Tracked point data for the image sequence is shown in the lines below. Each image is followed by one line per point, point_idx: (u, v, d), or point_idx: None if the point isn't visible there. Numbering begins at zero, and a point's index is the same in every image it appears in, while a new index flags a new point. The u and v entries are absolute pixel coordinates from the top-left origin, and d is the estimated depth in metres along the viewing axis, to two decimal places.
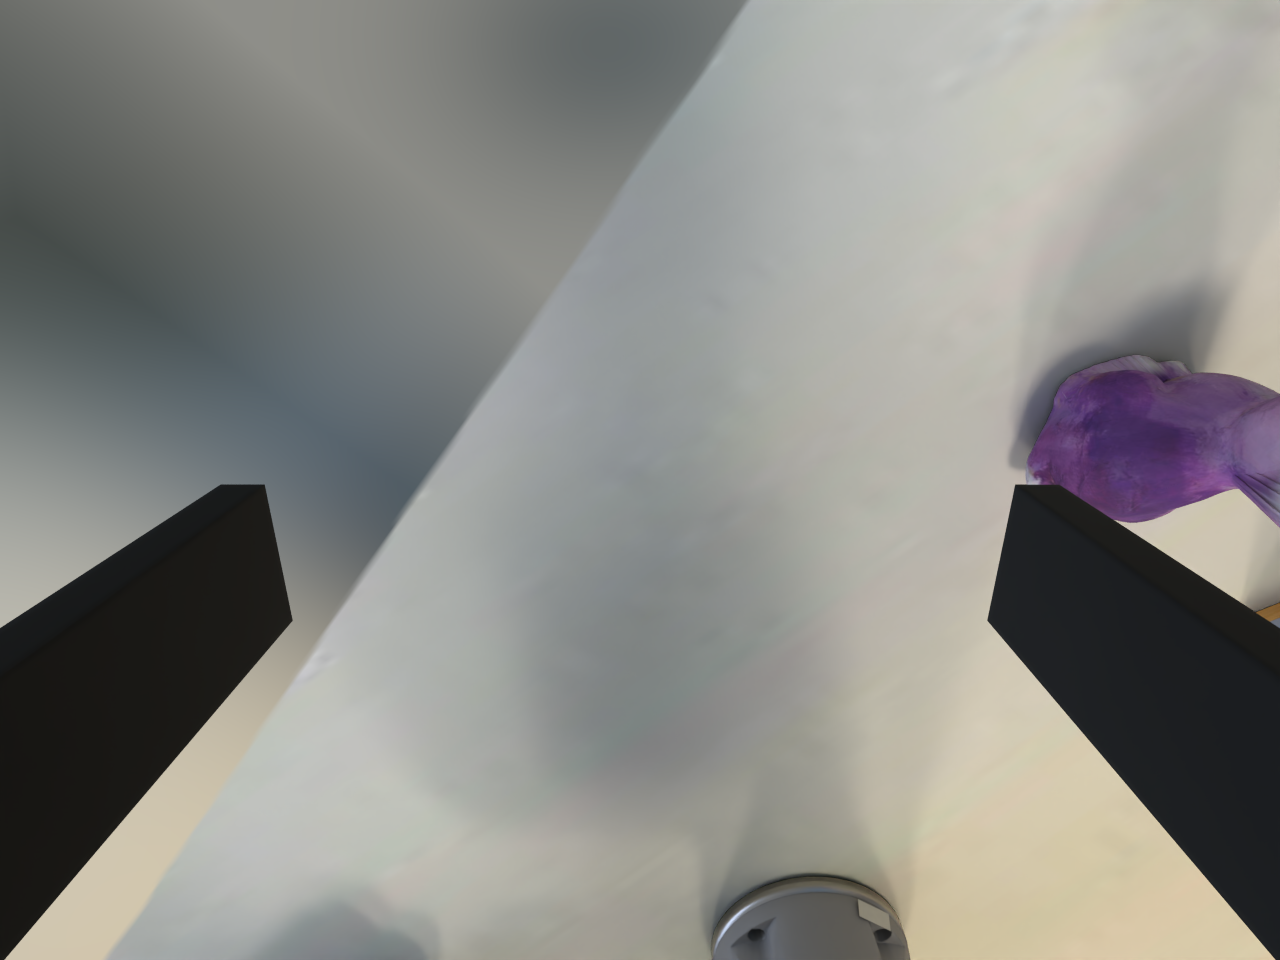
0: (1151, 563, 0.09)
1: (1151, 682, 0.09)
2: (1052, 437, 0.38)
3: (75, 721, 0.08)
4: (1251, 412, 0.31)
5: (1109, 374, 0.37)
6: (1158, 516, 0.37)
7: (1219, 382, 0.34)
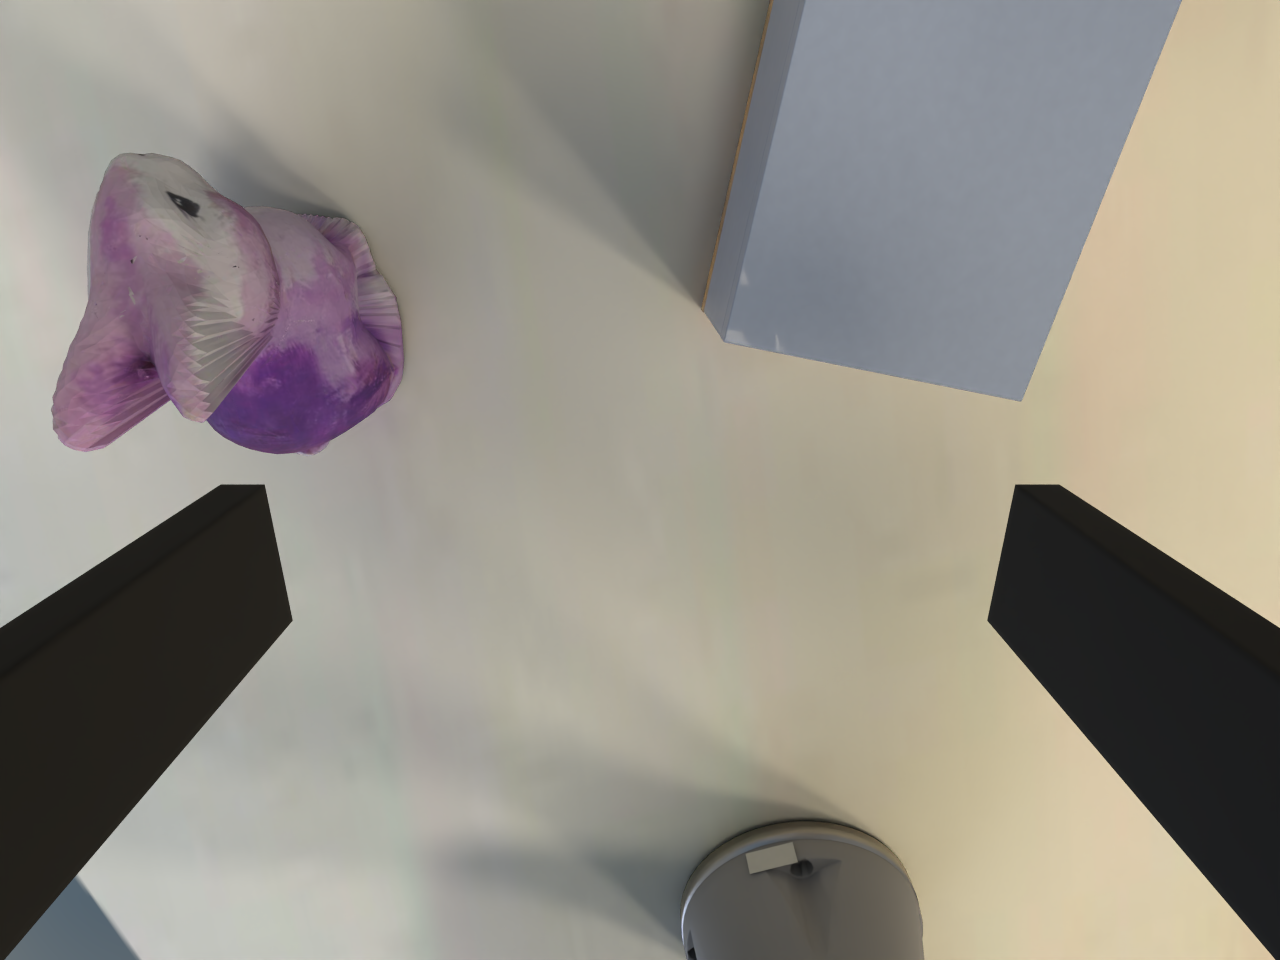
0: (1151, 563, 0.09)
1: (1150, 681, 0.09)
2: None
3: (75, 721, 0.08)
4: None
5: None
6: (346, 395, 0.28)
7: None
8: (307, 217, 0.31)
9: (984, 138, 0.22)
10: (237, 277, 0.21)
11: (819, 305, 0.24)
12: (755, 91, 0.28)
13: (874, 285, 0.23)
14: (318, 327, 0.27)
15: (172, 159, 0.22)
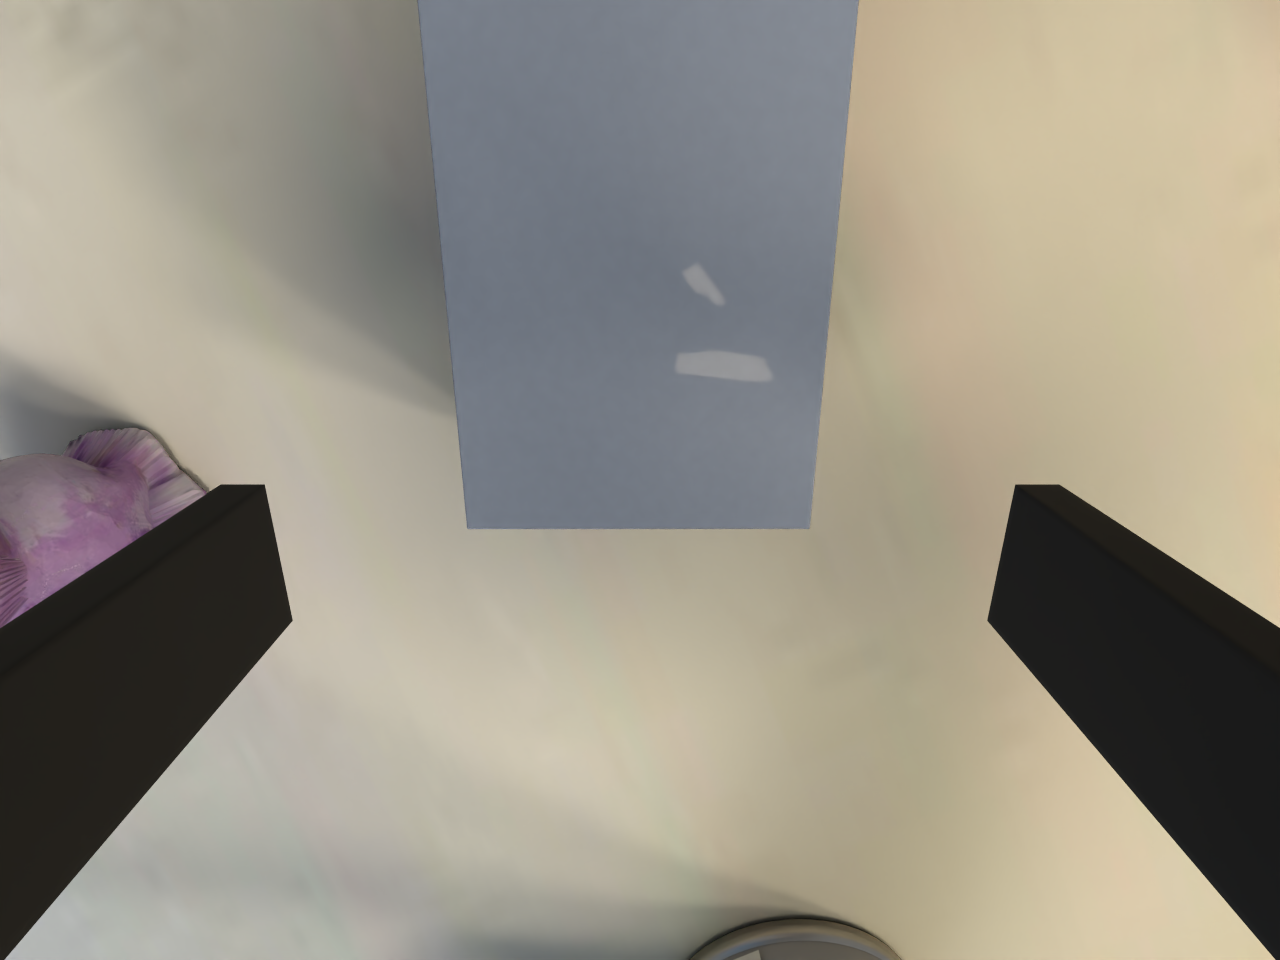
0: (1151, 563, 0.09)
1: (1151, 682, 0.09)
2: None
3: (75, 721, 0.08)
4: None
5: None
6: None
7: None
8: (96, 434, 0.30)
9: (676, 276, 0.19)
10: None
11: (555, 475, 0.22)
12: None
13: (607, 444, 0.21)
14: (87, 568, 0.26)
15: None
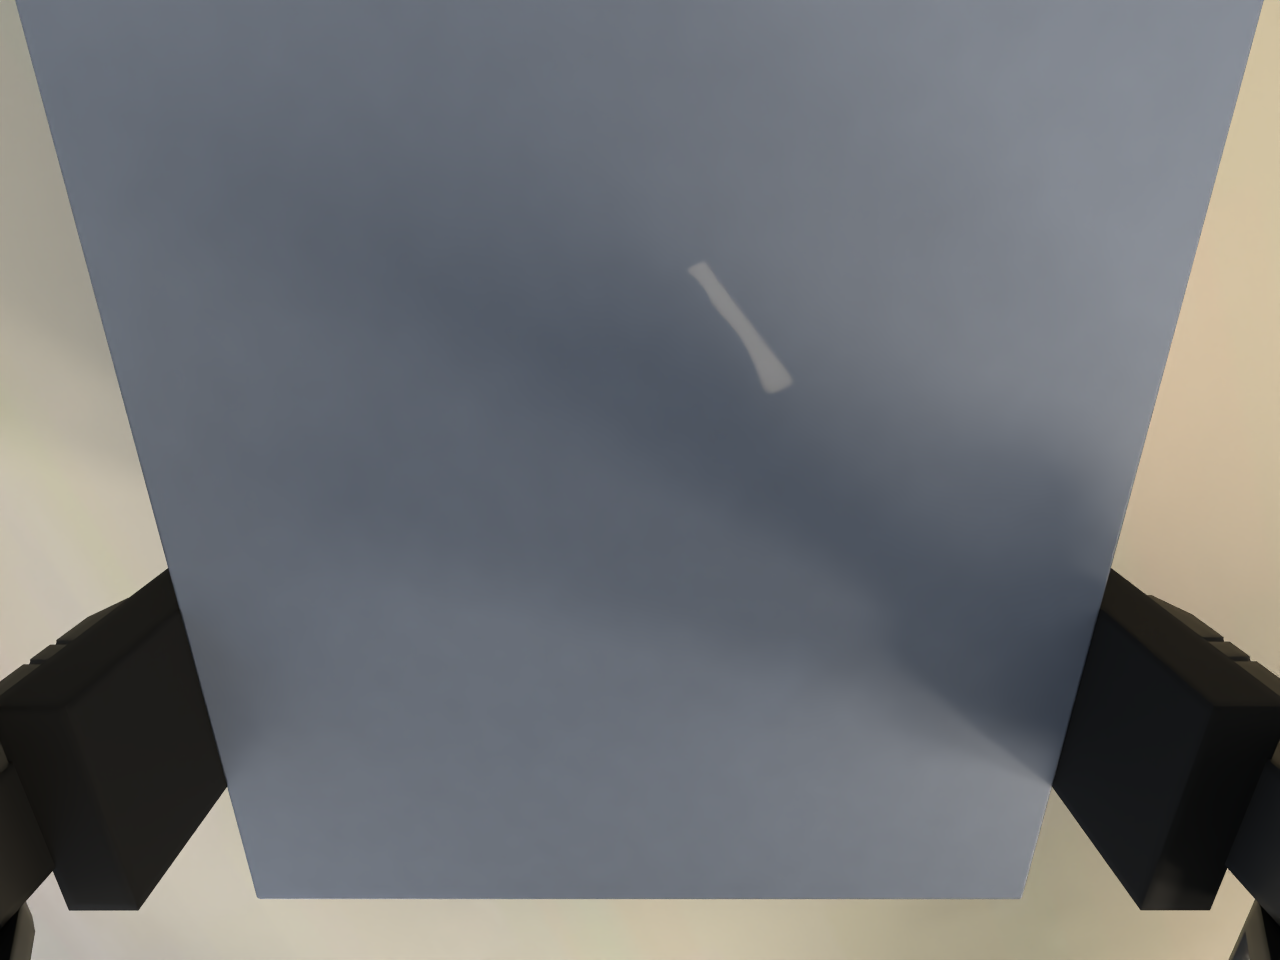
0: None
1: None
2: None
3: None
4: None
5: None
6: None
7: None
8: None
9: (742, 358, 0.07)
10: None
11: (447, 801, 0.09)
12: None
13: (566, 742, 0.09)
14: None
15: None
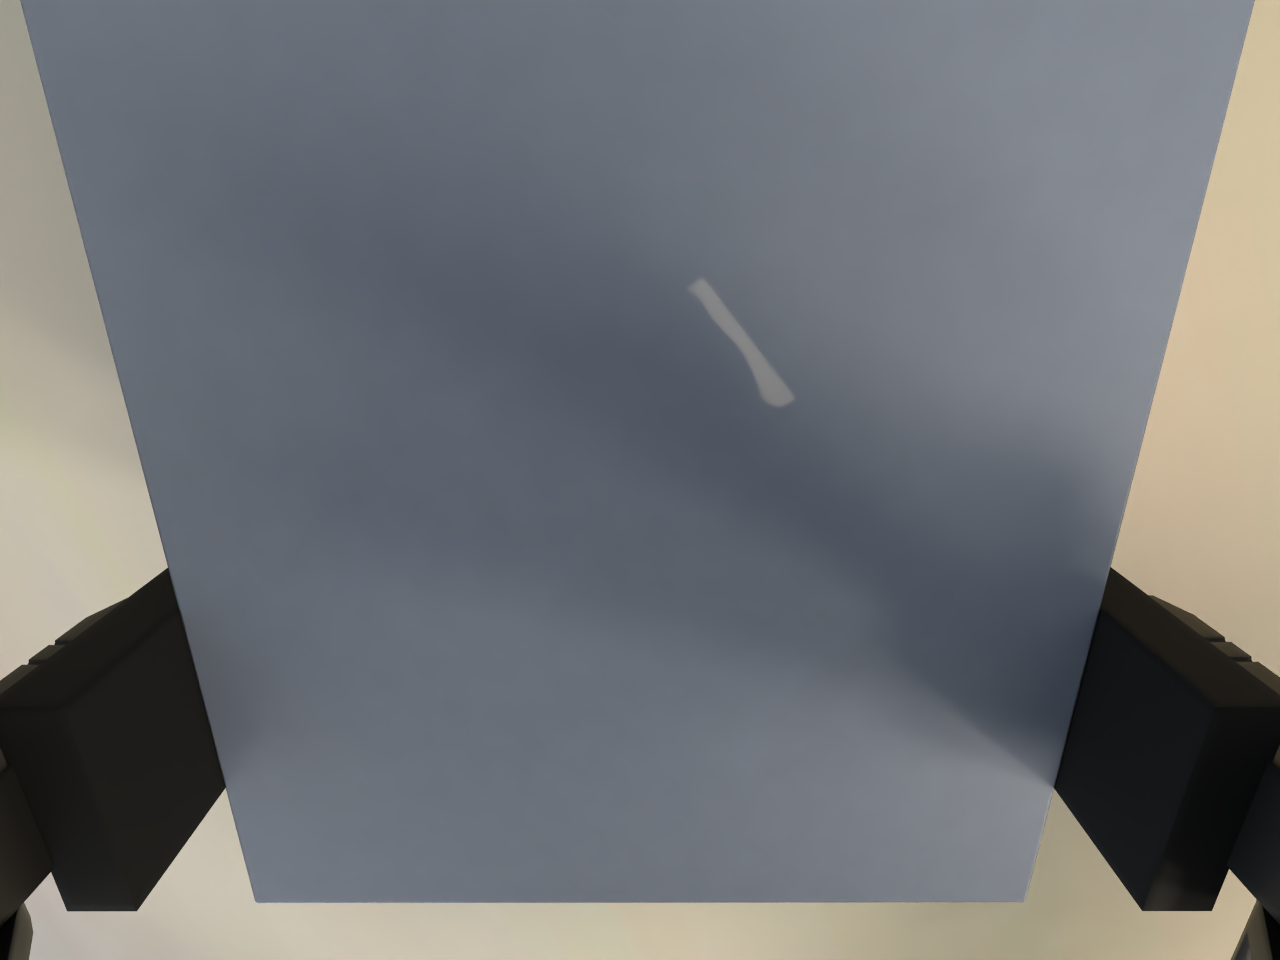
0: None
1: None
2: None
3: None
4: None
5: None
6: None
7: None
8: None
9: (741, 355, 0.07)
10: None
11: (446, 803, 0.09)
12: None
13: (566, 743, 0.09)
14: None
15: None
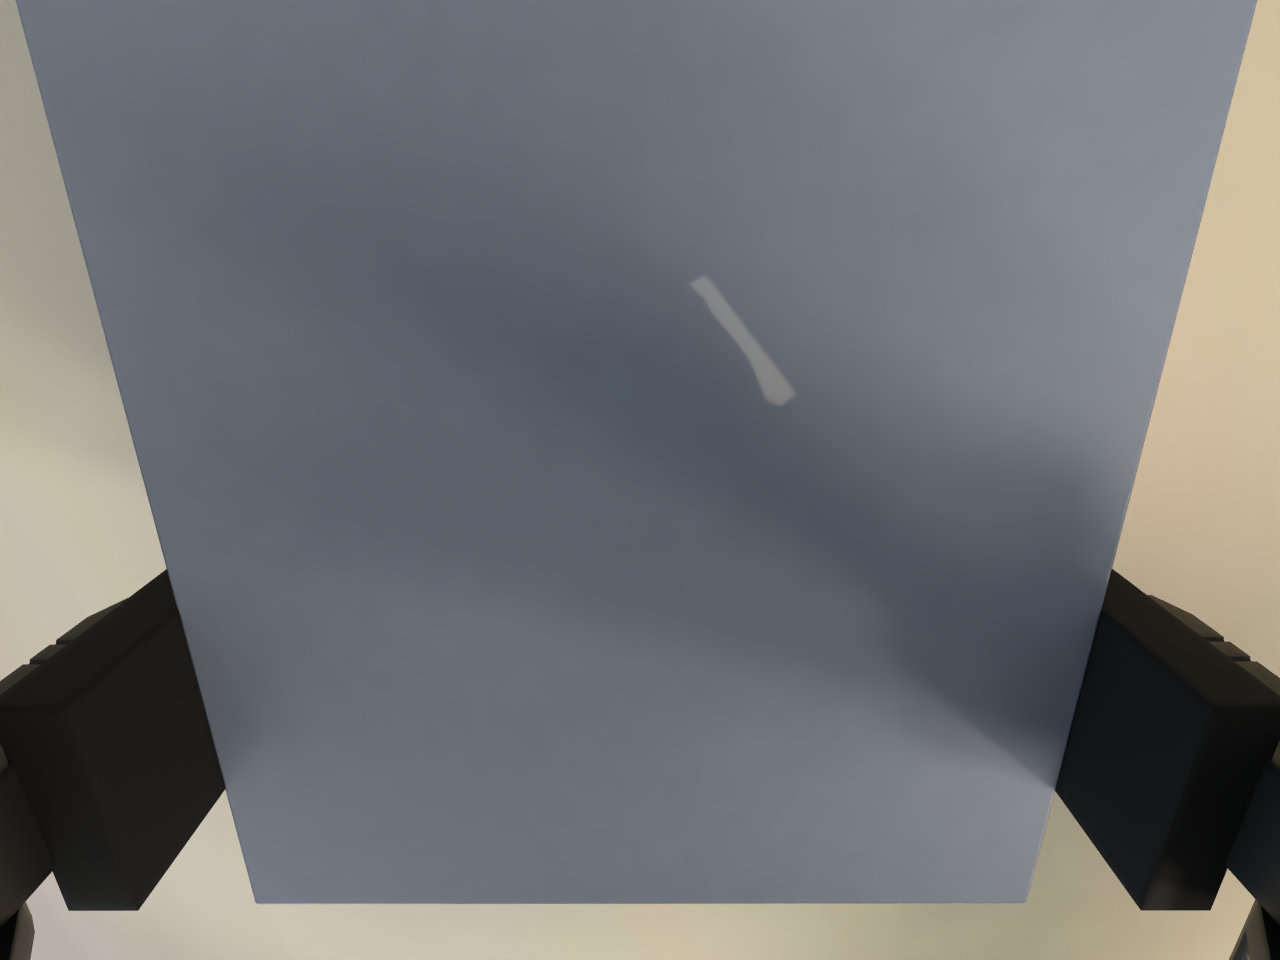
0: None
1: None
2: None
3: None
4: None
5: None
6: None
7: None
8: None
9: (741, 356, 0.07)
10: None
11: (446, 804, 0.09)
12: None
13: (566, 744, 0.09)
14: None
15: None
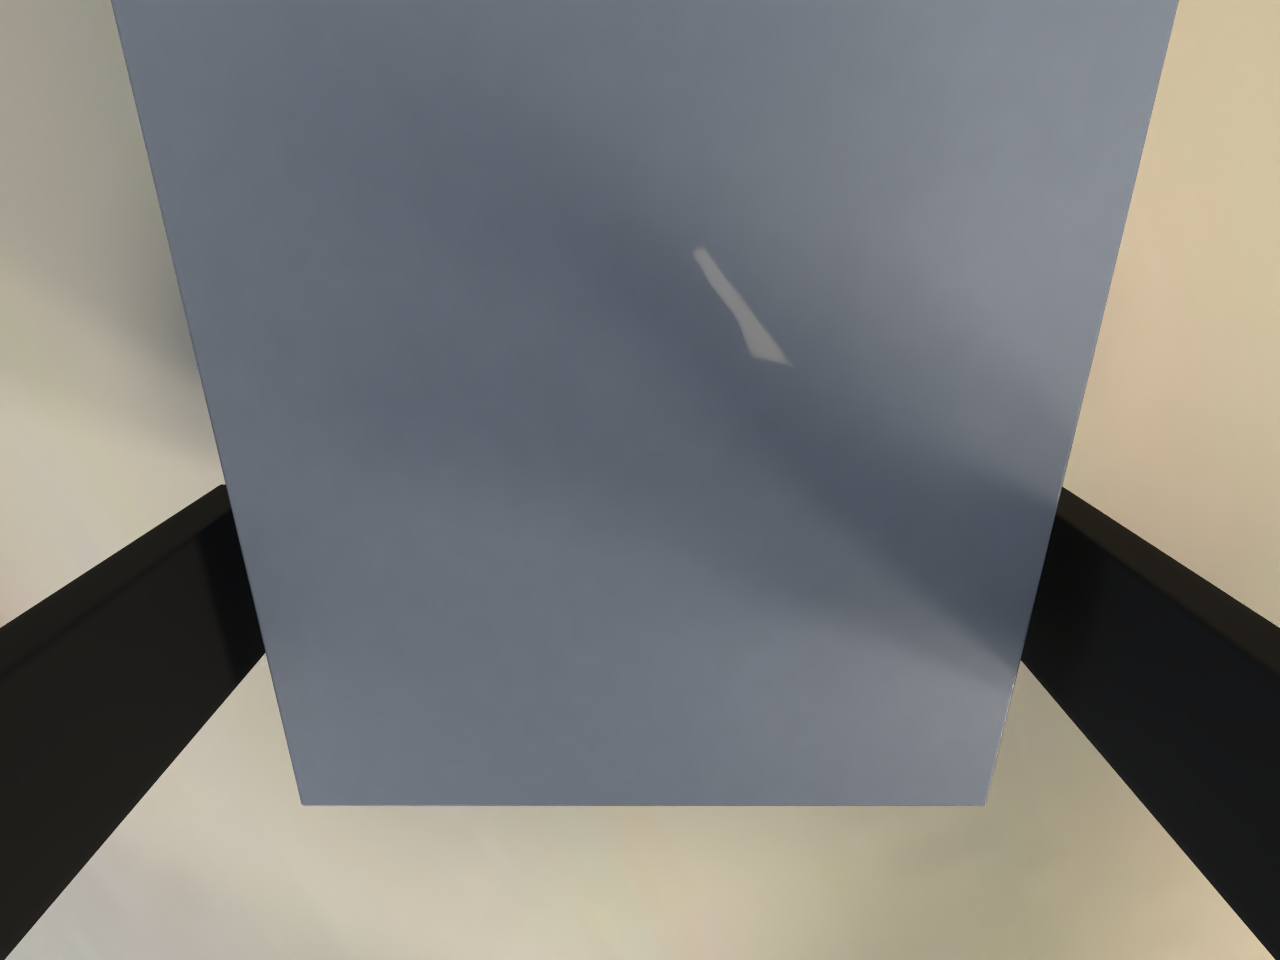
0: (1151, 563, 0.09)
1: (1151, 682, 0.09)
2: None
3: (75, 721, 0.08)
4: None
5: None
6: None
7: None
8: None
9: (734, 311, 0.08)
10: None
11: (472, 714, 0.10)
12: None
13: (578, 659, 0.10)
14: None
15: None
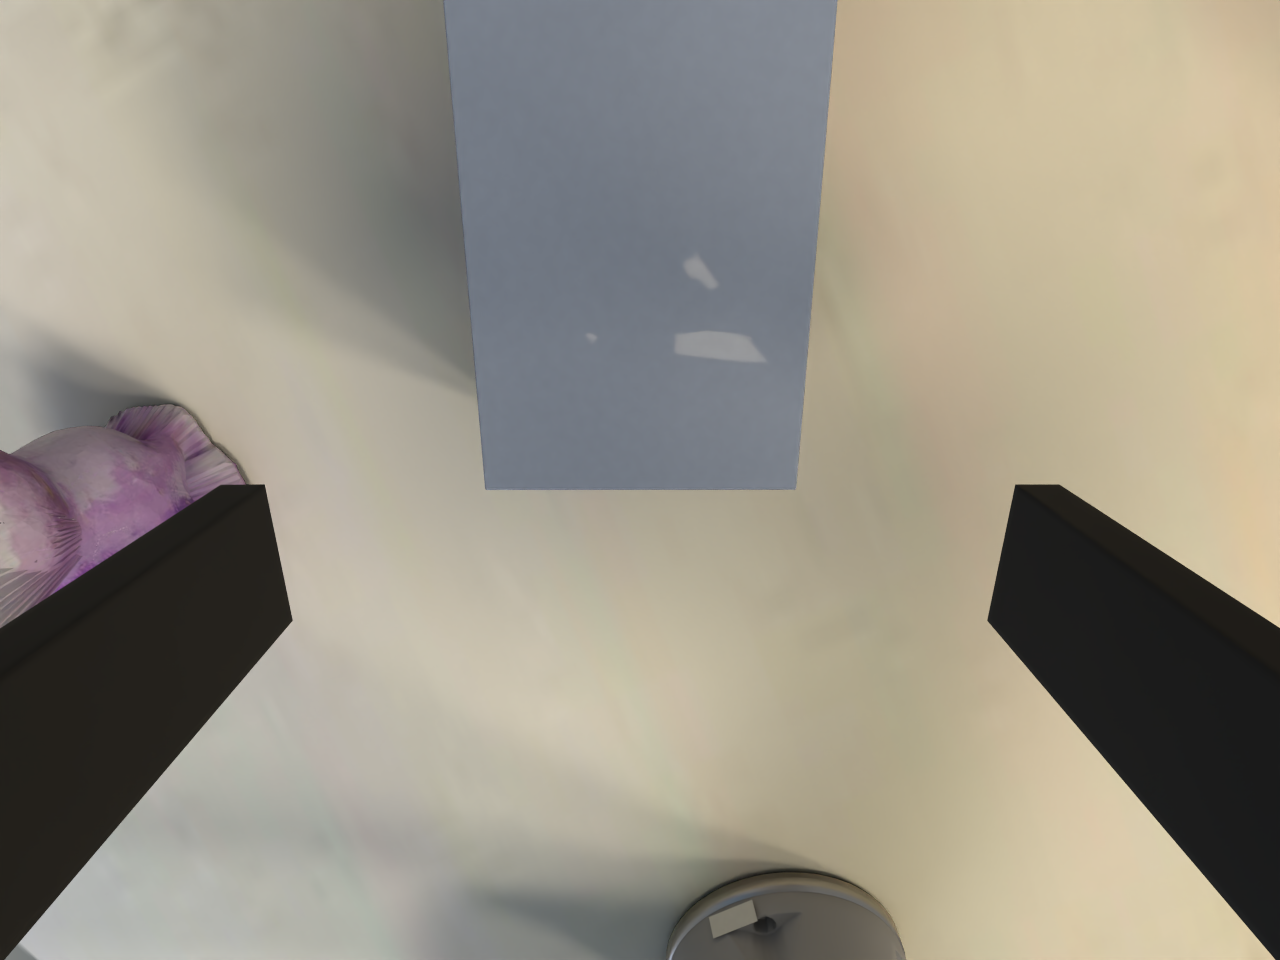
0: (1151, 563, 0.09)
1: (1151, 682, 0.09)
2: None
3: (75, 721, 0.08)
4: None
5: None
6: None
7: None
8: (134, 411, 0.32)
9: (674, 258, 0.22)
10: (4, 532, 0.23)
11: (565, 440, 0.24)
12: None
13: (612, 412, 0.23)
14: (134, 531, 0.28)
15: None
